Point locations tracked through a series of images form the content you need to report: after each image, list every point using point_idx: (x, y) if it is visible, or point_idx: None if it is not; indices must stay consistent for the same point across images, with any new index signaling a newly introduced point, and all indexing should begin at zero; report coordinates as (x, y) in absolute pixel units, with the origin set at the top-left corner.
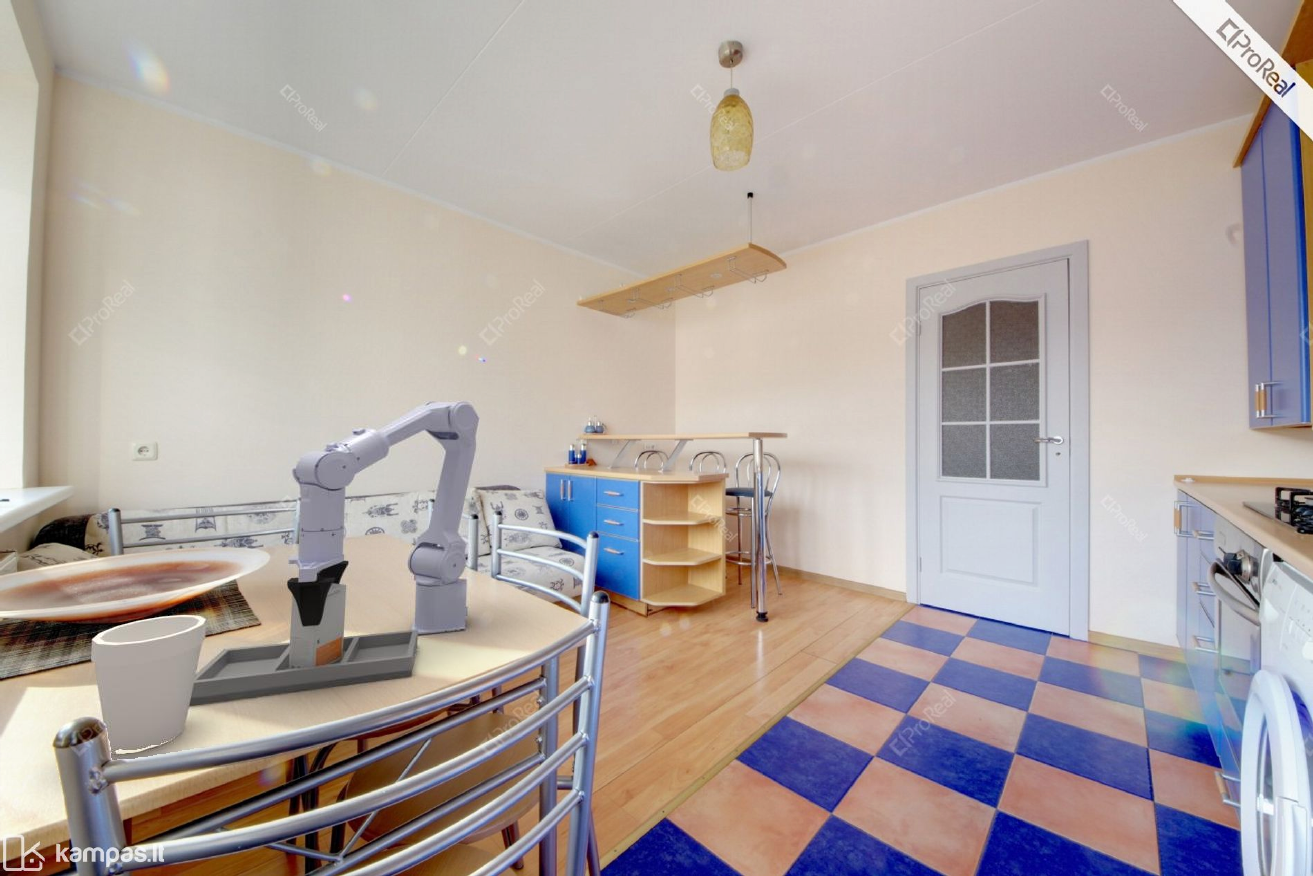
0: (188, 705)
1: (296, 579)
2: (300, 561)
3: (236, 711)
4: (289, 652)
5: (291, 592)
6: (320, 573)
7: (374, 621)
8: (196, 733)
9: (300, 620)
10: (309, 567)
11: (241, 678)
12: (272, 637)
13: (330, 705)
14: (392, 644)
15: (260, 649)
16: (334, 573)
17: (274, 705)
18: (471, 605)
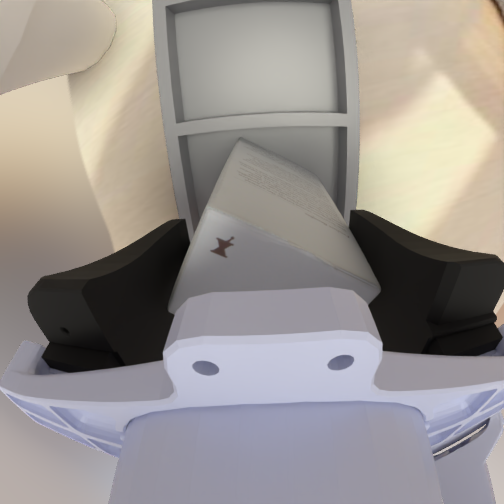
0: (70, 69)
1: (64, 322)
2: (108, 414)
3: (130, 104)
4: (235, 145)
5: (70, 270)
6: (410, 304)
7: (479, 229)
8: (80, 91)
9: (207, 203)
10: (29, 413)
11: (158, 84)
12: (471, 64)
13: (134, 238)
14: None
15: (342, 52)
16: (390, 346)
17: (141, 155)
18: None
